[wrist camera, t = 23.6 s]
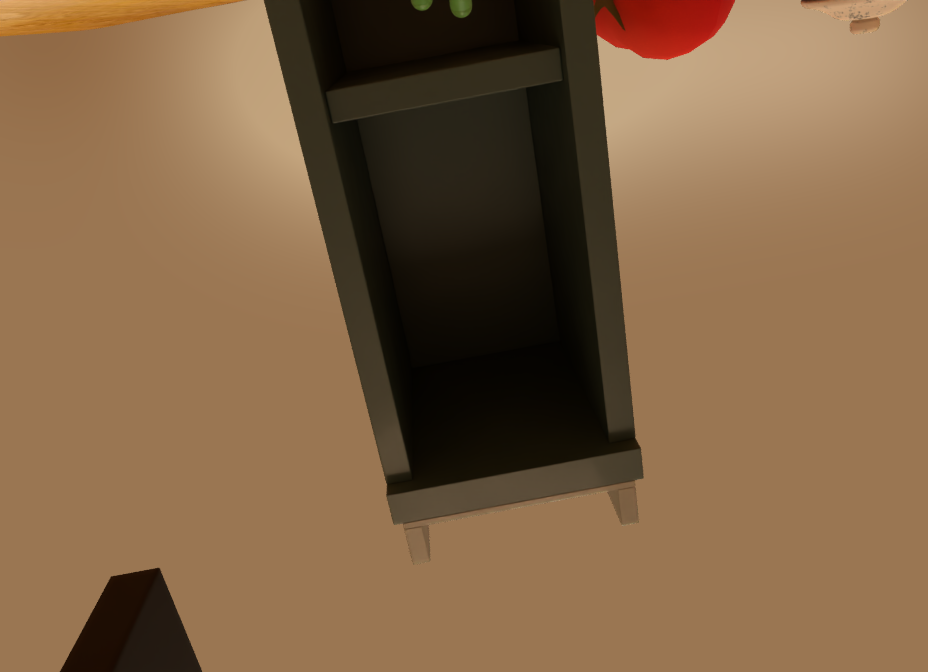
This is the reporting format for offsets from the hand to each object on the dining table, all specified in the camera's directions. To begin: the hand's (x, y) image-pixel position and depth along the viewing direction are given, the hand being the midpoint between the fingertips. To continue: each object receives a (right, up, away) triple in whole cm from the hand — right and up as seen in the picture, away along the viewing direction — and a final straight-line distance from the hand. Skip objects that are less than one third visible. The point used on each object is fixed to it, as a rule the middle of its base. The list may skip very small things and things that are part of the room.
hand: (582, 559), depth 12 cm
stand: (-5, +25, +26) cm, 36 cm away
